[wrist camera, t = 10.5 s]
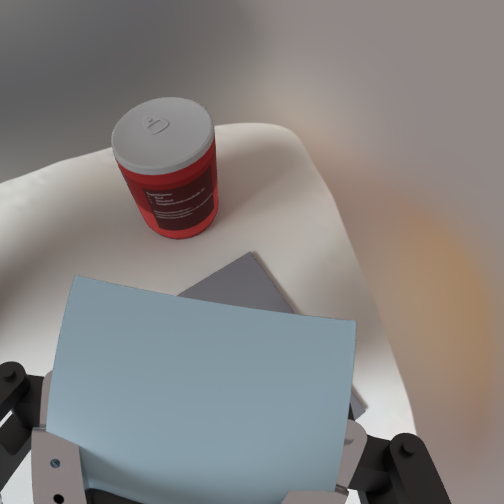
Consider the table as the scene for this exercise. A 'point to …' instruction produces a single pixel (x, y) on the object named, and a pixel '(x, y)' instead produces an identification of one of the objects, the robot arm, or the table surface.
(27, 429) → the robot arm
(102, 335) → the light blue tall box
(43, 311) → the table surface
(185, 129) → the canned food
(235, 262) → the mat
